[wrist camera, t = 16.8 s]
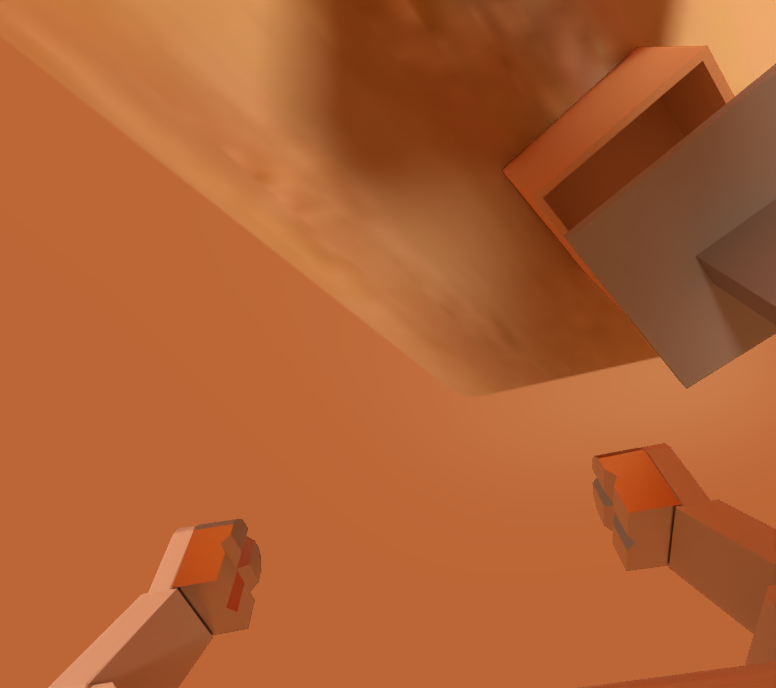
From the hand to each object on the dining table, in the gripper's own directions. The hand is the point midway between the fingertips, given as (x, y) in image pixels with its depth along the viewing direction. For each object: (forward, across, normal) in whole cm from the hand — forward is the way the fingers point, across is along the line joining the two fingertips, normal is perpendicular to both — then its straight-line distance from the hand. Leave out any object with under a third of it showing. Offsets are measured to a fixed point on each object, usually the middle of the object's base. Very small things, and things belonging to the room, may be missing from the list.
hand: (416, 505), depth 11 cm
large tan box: (+39, -20, +5) cm, 44 cm away
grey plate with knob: (+20, -20, +5) cm, 29 cm away
